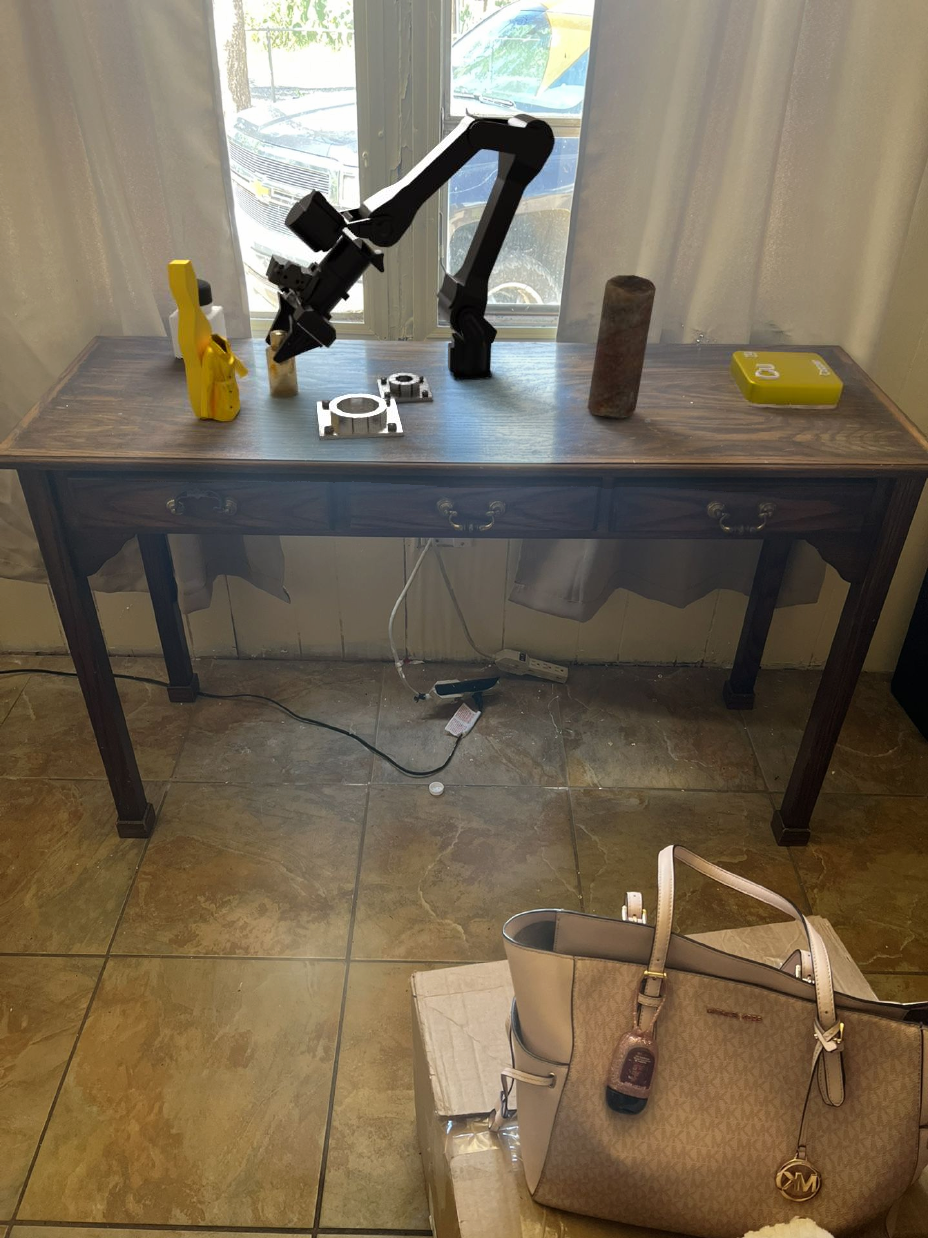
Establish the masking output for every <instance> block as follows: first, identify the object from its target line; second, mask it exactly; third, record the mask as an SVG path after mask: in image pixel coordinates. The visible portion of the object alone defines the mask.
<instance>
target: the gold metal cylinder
mask: <svg viewBox="0 0 928 1238" xmlns="http://www.w3.org/2000/svg"><path fill="white" fill-rule="evenodd" d="M286 335H287V332H286V331H283V330H275V331H272V332H270V340H271V345H268V346H267V347H266V348H265V357H266V366H267V374H268V376H267V377H268V386H269V394H270V395H271V396H272V397H276V398H280V399H281V398H282V399H288V398H291V397H294V396H297V394H299V385H298V374H297V364H296V363H297V361H296V356H295V357H292V358H290V359H288V360H285V361H283V362H281V363H276V362H275V361H274V360H273V357H274V355H275V353H276V351H277V350H278V348H279V346H280V345H281V343H282V341H283V340H284V338H285V337H286Z"/></svg>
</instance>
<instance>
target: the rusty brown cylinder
mask: <svg viewBox="0 0 928 1238" xmlns="http://www.w3.org/2000/svg"><path fill="white" fill-rule="evenodd" d="M656 289H657V288H656V286H655V284H654V282H652V281H651V279H648V278H645V277H642V276H639V275H635V274H629V275H627V274H622V275H621V274H620V275H619V274H618V275H616V276H612V277H610V279H608V280H607V281H606V283H605V286H604V292H603V298H602V299H603V300H602V304H601V305H602V306H601V314H600V320H599V321H600V322H599V327H598V335H597V341H596V350H595V355H594V360H593V361H594V362H593V369H592V373H591V374H592V375H591V381H590V388H589V395H588V402H587V409H588V411H589V413H590V414H592V415H594V416H600V417H605V418H609V419H611V420H613V419H614V420H621V419H623V418H627V417H629V416H631V415H632V414H633V413H634V412H635V411H636V409H637V404H638V397H639V394H640V393H639V392H640V386H641V380H642V375H643V374H642V373H643V368H644V361H645V357H646V356H645V354H646V349H647V343H648V338H649V337H648V336H649V330H650V324H651V318H652V314H653V308H654V307H653V306H654V301H655V296H656Z"/></svg>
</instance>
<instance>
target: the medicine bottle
mask: <svg viewBox="0 0 928 1238" xmlns="http://www.w3.org/2000/svg"><path fill="white" fill-rule="evenodd" d="M197 283H198V296H199V305H200V308H201V310H202V312H203V314H204V315H205V317H206V318H207V320H208V321H209V323H210V326H211V329H212V335H213V334H218V335H220V336H221V337H222V338H225V339H227V340H228V337H227V331H226V321H225V315H224V308H223V306H221V305H214V301H213V294H212V287H211V284H210V283H209V282H208V281H206V280H203V279H201V278H197ZM175 307H176V310H175V311H174V312H173V313H171V314H170V315H169V316H168V322H169V329H170V335H171V339H172V346H173V351H174V356H175V357H174V358H176V357H177V358H176V359H181V358H183V357H182V354H181V351H180V347H179V343H178V318H179V312H178V307H177V304H176V303H175Z"/></svg>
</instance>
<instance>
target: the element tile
mask: <svg viewBox="0 0 928 1238" xmlns="http://www.w3.org/2000/svg"><path fill="white" fill-rule="evenodd" d="M729 371H730V372H731V374H732V376H733V378H734V380H735V381H736V383H737V385H738V387H739V389H740V391H741V393H742V394H743V396H744V398H745V399H746V400H748V401H749V402H752V403H757V404H776V405H790V404H791V405H835V404H837V403H838V404H839V402H840V398H841V394H842V391H843V388H844V383H843V381H842V380H841V379H840V378H839V376H837V374H836V372H834V370H833V369H832V368H831V367H830V366H829V365H828V363H827V362H826V361H825V360H824V359H823V358H822V357H821V356H820V355H818V354H817V353H815V352H795V351H794V352H792V351H791V352H790V351H789V352H788V351H787V352H786V351H762V350H761V351H759V350H757V351H755V350H737V351H735V352H733V353H732V357H731V362H730V367H729Z"/></svg>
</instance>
